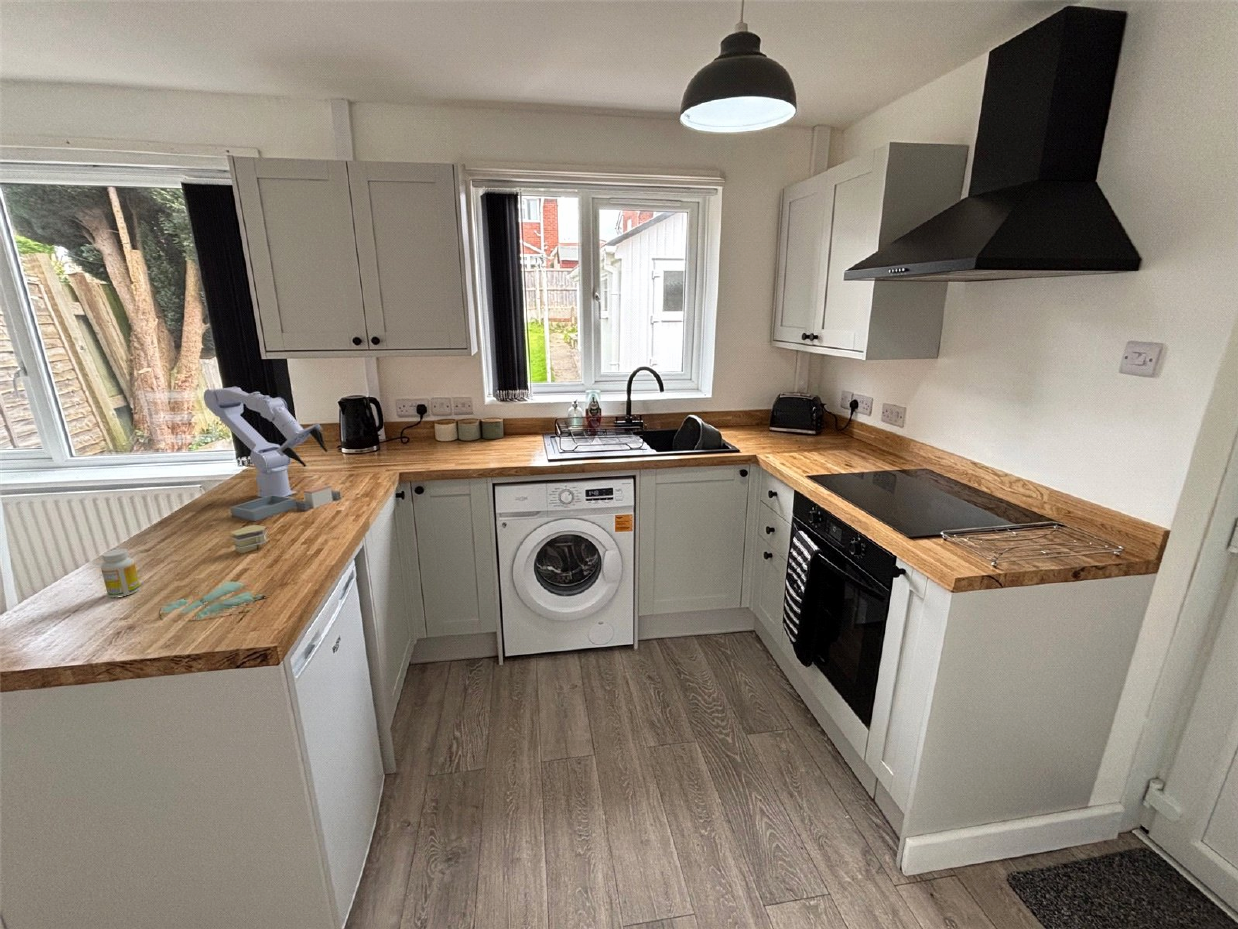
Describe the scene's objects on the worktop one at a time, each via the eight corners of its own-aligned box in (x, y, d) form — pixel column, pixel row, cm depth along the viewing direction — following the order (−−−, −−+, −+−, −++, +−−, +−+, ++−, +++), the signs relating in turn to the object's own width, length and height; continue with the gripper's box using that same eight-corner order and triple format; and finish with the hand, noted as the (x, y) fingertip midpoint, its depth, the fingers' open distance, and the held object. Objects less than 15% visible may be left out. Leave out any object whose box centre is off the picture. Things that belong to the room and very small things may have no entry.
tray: (231, 516, 166) (230, 507, 165) (274, 503, 178) (273, 494, 177) (255, 521, 162) (253, 511, 161) (297, 507, 174) (295, 498, 173)
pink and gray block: (306, 506, 174) (303, 490, 173) (325, 500, 181) (322, 484, 179) (313, 508, 173) (311, 491, 172) (332, 501, 179) (330, 485, 178)
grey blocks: (296, 509, 172) (295, 501, 171) (332, 497, 183) (331, 490, 183) (305, 510, 170) (304, 503, 170) (340, 498, 182) (339, 491, 181)
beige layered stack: (240, 560, 136) (235, 539, 135) (223, 552, 141) (219, 532, 140) (281, 546, 145) (277, 527, 143) (264, 539, 149) (260, 520, 148)
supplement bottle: (110, 601, 116) (99, 560, 113) (106, 593, 119) (95, 553, 117) (143, 591, 120) (133, 551, 117) (138, 584, 123) (128, 545, 121)
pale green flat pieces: (143, 613, 112) (140, 603, 112) (256, 572, 130) (254, 563, 130) (187, 643, 102) (184, 631, 101) (303, 594, 120) (302, 584, 119)
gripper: (263, 436, 169) (289, 468, 167) (305, 409, 173) (331, 439, 172) (273, 444, 175) (298, 474, 174) (313, 417, 180) (338, 447, 178)
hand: (315, 458), depth 173 cm, fingers open, 7 cm apart
